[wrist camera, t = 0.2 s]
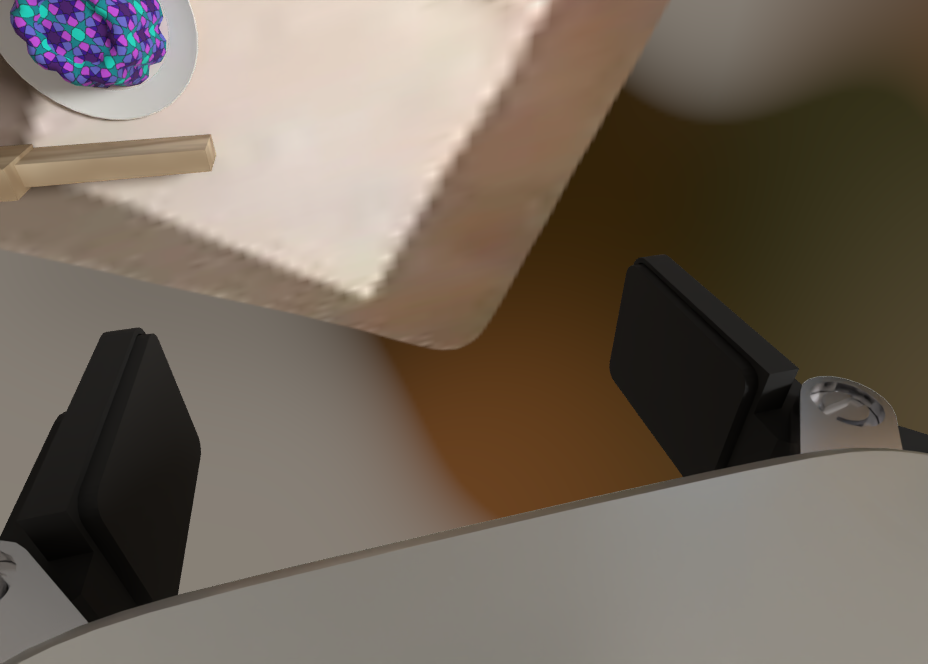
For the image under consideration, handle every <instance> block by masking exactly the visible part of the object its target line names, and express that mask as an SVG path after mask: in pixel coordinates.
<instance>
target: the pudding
mask: <svg viewBox="0 0 928 664" xmlns="http://www.w3.org/2000/svg"><path fill="white" fill-rule="evenodd" d="M159 1H160V3H161V5H162V8H163V11H164V13H165V16H166V20H167V25H168V33H169V43H168V50H167V54H166V57H165V60H164V62H163V64H162V66H161V67H160V69H159V70H158V72H157V73H156V74H155V75H154V76H153V77H152V78H151V79H149V80H148V81H146V82H145V83H143V84H141V83H142V82H144V81H145V80H146V79H147V78H148V77H149V66H150V65H152V64H155V63H158V62H161V61H162V59H163V57H164V55H165V53H166V40H165V38H164V36H163V35H162V33H161V31H160V30H159V26H160V23H161V21H162V19H163V14H162V10H161V7H160V4H159V2H158V1H157V0H15V1H14V0H0V53H1V55H2V56H3V57H4V59H5V60H6V61H7V63H8V64H9V65H10V66H11V67H12V68H13V69H14V70H15V71H16V72H17V73H18V74H19V75H20V76H21V77H22V78H23V79H24V80H25V81H26V82H28V83H29V84H30V85H31V86H33V87H34V88H35V89H36V90H38V91H39V92H40V93H42V94H43V95H45V96H47V97H48V98H50V99H51V100H53V101H55V102H56V103H58V104H60V105H63V106H65V107H67V108H69V109H71V110H73V111H76V112H79V113H82V114H85V115H89V116H92V117H97V118H103V119H109V120H131V119H137V118H143V117H146V116H149V115H152V114H154V113H157V112H159V111H161V110H163V109H164V108H166V107H167V106H169V105H171V104H172V103H173V102H174V101H175V100H176V99H177V98H178V97H179V96H180V95H181V94H182V93H183V91H184V90H185V88H186V87H187V85H188V84H189V82H190V80H191V77H192V75H193V72H194V70H195V66H196V61H197V55H198V32H197V27H196V21H195V16H194V13H193V10H192V7H191V4H190V2H189V0H159ZM138 84H141V85H139V86H136V87H133V88H130V89H123V90H106V89H100V88H95V87H103V88H108V87H109V86H111V85H114V86H133V85H138Z"/></svg>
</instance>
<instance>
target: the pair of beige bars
mask: <svg viewBox="0 0 928 664" xmlns="http://www.w3.org/2000/svg"><path fill="white" fill-rule="evenodd" d="M215 157H216V152H215V149H214V145H213V141H212V138H211V134H209V135H196V136H183V137H169V138H156V139H143V140H130V141H117V142H103V143H90V144H77V145H64V146H51V147H37V148H33V146H32V144H27V145H14V146H0V202H4V201H15V200H19V199H20V198H21V197H22V196H23V195H24V194H25V193H26V192H27V191H28V190H29V189H30V188H31V187H38V186H50V185H61V184H72V183H84V182H95V181H106V180H118V179H129V178H140V177H152V176H163V175H174V174H186V173H197V172H209V171H211V170H212V167H213V164H214V160H215Z"/></svg>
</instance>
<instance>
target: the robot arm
mask: <svg viewBox="0 0 928 664" xmlns="http://www.w3.org/2000/svg"><path fill="white" fill-rule="evenodd" d="M798 370H799V368H798V367H796V366H795V365H794V364H793V363H792V362H791V361H789V360H788V359H787V358H786V357H785V356H784V355H783V354H781V353H780V352H779V351H778V350H777V349H776V348H774V347H773V346H772V345H771V344H770V343H768V342H767V341H766V340H765V339H764V338H763V337H762V336H760V335H759V334H758V333H757V332H755V330H753V329H752V328H751V327H750V326H748V324H746V323H745V322H744V321H743V320H742V319H741V318H739V317H738V316H737V315H736V314H735V313H734V312H732V311H731V310H730V309H729V308H728V307H727V306H725V305H724V304H723V303H722V302H721V301H720V300H719V299H717V298H716V297H715V296H714V295H713V294H711V293H710V292H709V291H708V290H707V289H706V288H705V287H703V286H702V285H701V284H700V283H699V282H697V281H696V280H695V279H694V278H693V277H692V276H690V275H689V274H688V273H687V272H686V271H685V270H684V269H682V268H681V267H680V266H679V265H678V264H677V263H675V262H674V261H673V260H672V259H671V258H670V257H668V256H667V255H656V256H649V257H641V258H638V259H637V260H636V261H635V262H634V265H633V266H630V267H629V268H628V270H627V273H626V278H625V283H624V289H623V294H622V300H621V305H620V310H619V316H618V321H617V326H616V332H615V337H614V343H613V348H612V354H611V359H610V373H611V376H612V378H613V380H614V381H615V383H616V384H617V386H618V387H619V389H620V390H621V391H622V393H623V394H624V395H625V397H626V398H627V400H628V401H629V402H630V404H631V405H632V407H633V408H634V409H635V411H636V412H637V413H638V415H639V416H640V418H641V419H642V420H643V422H644V423H645V425H646V426H647V427H648V429H649V430H650V431H651V433H652V434H653V436H655V438H656V440H657V441H658V442H659V444H660V445H661V447H662V448H663V449H664V451H665V452H666V454H667V455H668V456H669V458H670V459H671V460H672V462H673V463H674V465H675V466H676V467H677V469H678V470H679V472H680V473H681V474H682V476H683V477H682V478H677V479H673V480H668V481H664V482H659V483H655V484H650V485H646V486H641V487H637V488H632V489H628V490H623V491H619V492H614V493H610V494H606V495H601V496H596V497H592V498H587V499H583V500H579V501H575V502H570V503H566V504H562V505H557V506H553V507H548V508H544V509H540V510H535V511H530V512H526V513H521V514H517V515H513V516H508V517H504V518H500V519H495V520H491V521H486V522H483V523H478V524H473V525H469V526H465V527H461V528H456V529H452V530H447V531H443V532H438V533H434V534H430V535H425V536H421V537H417V538H413V539H408V540H404V541H400V542H395V543H391V544H387V545H383V546H379V547H374V548H370V549H365V550H361V551H357V552H353V553H349V554H344V555H340V556H336V557H332V558H327V559H323V560H318V561H314V562H310V563H305V564H301V565H297V566H293V567H288V568H284V569H280V570H276V571H272V572H268V573H264V574H260V575H256V576H252V577H248V578H244V579H240V580H236V581H232V582H228V583H224V584H220V585H216V586H212V587H208V588H204V589H200V590H196V591H192V592H188V593H184V594H180V595H178V589H179V584H180V578H181V572H182V566H183V560H184V554H185V548H186V542H187V535H188V530H189V523H190V517H191V511H192V505H193V499H194V493H195V487H196V481H197V475H198V468H199V463H200V455H201V448H200V441H199V437H198V435H197V432H196V430H195V427H194V425H193V423H192V420H191V418H190V416H189V413H188V410H187V408H186V405H185V403H184V401H183V398H182V396H181V394H180V391H179V388H178V386H177V384H176V381H175V379H174V376H173V374H172V371H171V369H170V367H169V364H168V362H167V359H166V357H165V354H164V352H163V350H162V347H161V345H160V342H159V340H158V338H157V336H156V335H155V334H145V332H144V331H143V330H142V329H141V328H131V329H124V330H117V331H110V332H105V333H103V334H102V336H101V337H100V339H99V342H98V344H97V346H96V348H95V350H94V352H93V355H92V357H91V359H90V361H89V363H88V366H87V368H86V370H85V372H84V374H83V376H82V379H81V381H80V383H79V385H78V387H77V390H76V392H75V394H74V396H73V398H72V400H71V403H70V405H69V407H68V409H67V411H66V412H64V413H63V414H61V415H59V416H58V418H57V419H56V421H55V422H54V424H53V426H52V428H51V430H50V432H49V435H48V437H47V439H46V441H45V443H44V445H43V447H42V450H41V452H40V454H39V456H38V458H37V460H36V462H35V464H34V467H33V468H32V471H31V473H30V475H29V477H28V479H27V481H26V483H25V485H24V487H23V490H22V492H21V494H20V496H19V498H18V500H17V503H16V504H15V506H14V509H13V511H12V513H11V515H10V517H9V519H8V521H7V523H6V526H5V528H4V530H3V532H2V534H1V536H0V664H928V435H927V434H924V433H920V432H917V431H914V430H910V429H907V428H904V427H900V426H898V424H897V419H896V415H895V413H894V411H893V408H892V407H891V406H890V404H888V402H887V401H886V400H885V399H884V398H883V397H882V396H880V395H879V394H877V393H876V392H874V391H873V390H872V389H869V388H867V387H865V386H863V385H861V384H859V383H857V382H854V381H850V380H847V379H844V378H838V377H832V376H818V377H815V378H811V379H808V380H807V381H806V382H805V383H803V384H802V385H801V384H800V383H799V382H798V381H797V380H796V379H795V376H796V374H797V372H798Z"/></svg>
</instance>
